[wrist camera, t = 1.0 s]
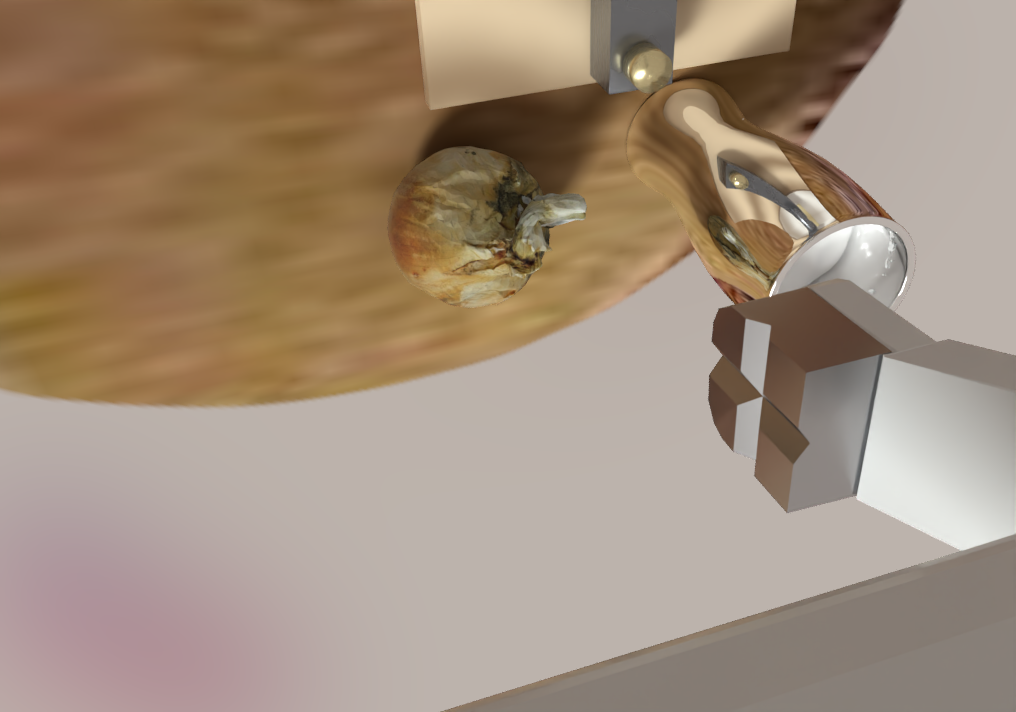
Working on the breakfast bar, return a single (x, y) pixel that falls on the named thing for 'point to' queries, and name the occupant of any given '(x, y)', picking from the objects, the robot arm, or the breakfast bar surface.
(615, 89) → the bar
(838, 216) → the beer glass
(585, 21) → the door board
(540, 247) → the onion
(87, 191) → the breakfast bar surface
